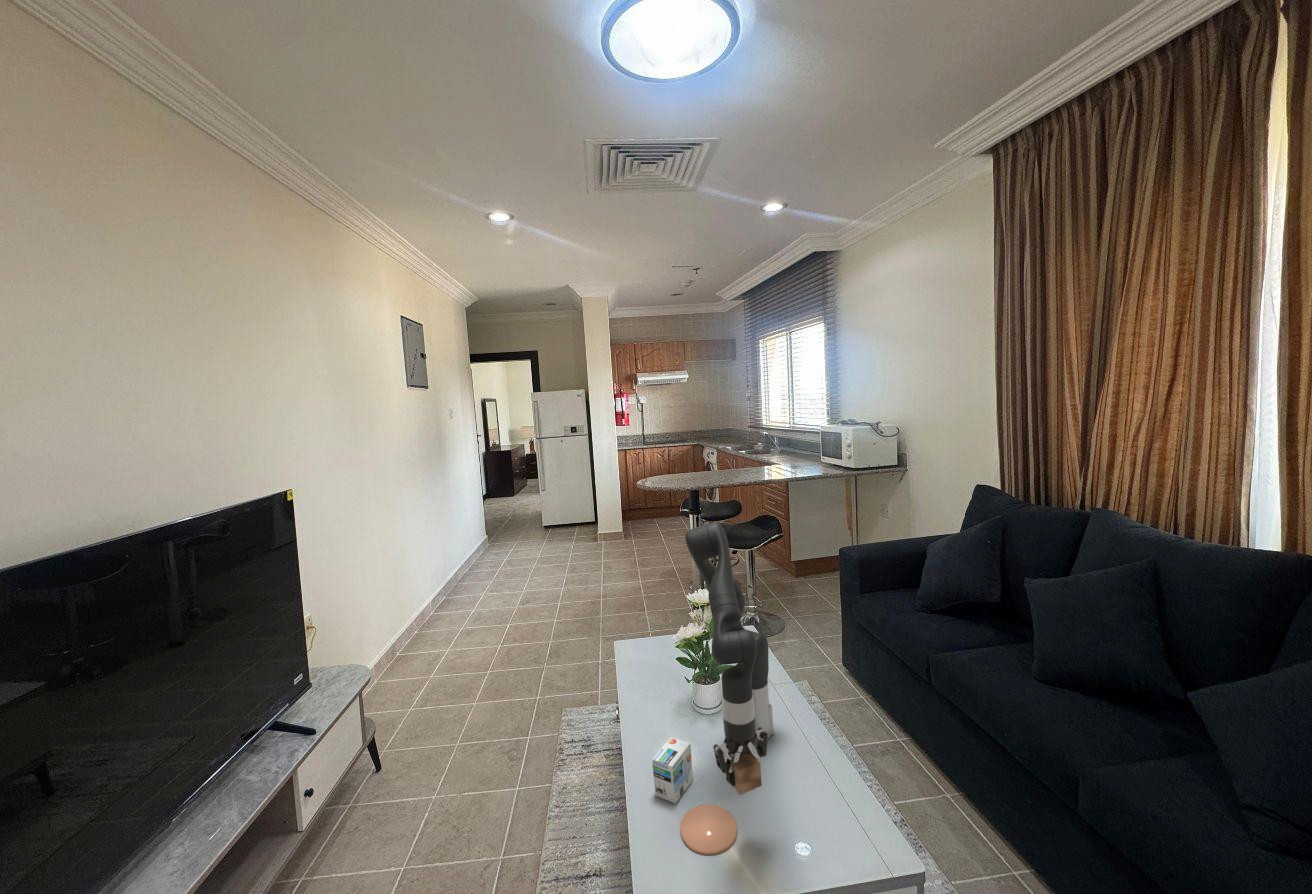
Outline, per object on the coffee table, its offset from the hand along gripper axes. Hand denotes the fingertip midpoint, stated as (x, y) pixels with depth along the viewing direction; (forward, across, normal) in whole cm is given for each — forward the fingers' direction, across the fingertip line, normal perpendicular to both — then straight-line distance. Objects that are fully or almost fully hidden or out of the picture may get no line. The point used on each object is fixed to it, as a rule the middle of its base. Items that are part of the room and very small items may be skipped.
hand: (743, 778), depth 125 cm
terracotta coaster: (+15, +7, -6) cm, 18 cm away
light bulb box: (+16, +9, -23) cm, 29 cm away
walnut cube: (+1, 0, 0) cm, 1 cm away
